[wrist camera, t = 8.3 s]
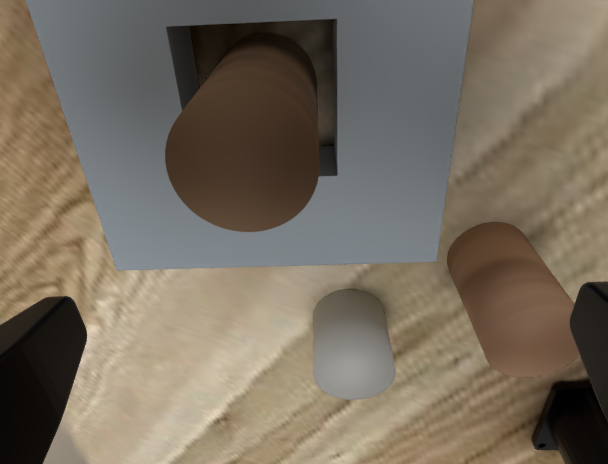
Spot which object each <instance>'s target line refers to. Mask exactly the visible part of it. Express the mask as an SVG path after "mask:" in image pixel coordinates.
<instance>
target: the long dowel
mask: <svg viewBox="0 0 608 464" xmlns="http://www.w3.org/2000/svg"><path fill="white" fill-rule="evenodd" d="M165 163H166V169H167V173H168V176H169V180H170V182H171V184H172V186H173V188H174V190H175V192H176V193H177V195H178V196H179V198H180V199H181V200H182V201H183V203H184V204H185V205H186V206H187V207H188V208H189V209H190V210H191V211H192V212H194V213H195V214H196V215H197V216H199V217H200V218H202V219H204V220H205V221H207V222H209V223H211V224H213V225H215V226H218V227H221V228H224V229H228V230H232V231H238V232H259V231H265V230H269V229H272V228H275V227H278V226H280V225H282V224H285V223H286V222H288V221H290V220H291V219H293V218H294V217H295V216H296V215H298V214H299V213H300V212H301V211H302V210H303V209H304V208H305V206H306V205H307V204H308V202H309V201H310V199H311V197H312V195H313V194H314V192H315V189H316V186H317V183H318V177H319V135H318V106H317V81H316V74H315V70H314V67H313V64H312V62H311V60H310V58H309V57H308V55H307V54H306V52H305V51H304V50H303V49H302V48H301V47H300V46H299V45H298V44H296V43H295V42H294V41H292V40H291V39H289V38H287V37H285V36H282V35H279V34H275V33H256V34H252V35H249V36H247V37H245V38H243V39H241V40H240V41H238V42H237V43H236V44H234V45H233V46H232V47H231V49H230V50H229V51H228V52H227V53H226V55H225V56H224V57H223V59H222V60H221V61H220V63H219V64H218V65H217V67H216V68H215V69H214V70H213V72H212V73H211V74H210V76H209V77H208V78H207V80H206V81H205V82H204V83H203V85H202V86H201V87H200V89H199V90H198V91H197V93H196V94H195V95H194V97H193V98H192V99H191V100H190V102H189V103H188V104H187V106H186V107H185V108H184V110H183V111H182V112H181V113H180V115H179V116H178V118H177V119H176V121H175V122H174V124H173V125H172V127H171V130H170V132H169V134H168V138H167V141H166V148H165Z"/></svg>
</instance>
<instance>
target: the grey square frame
mask: <svg viewBox="0 0 608 464" xmlns="http://www.w3.org/2000/svg"><path fill="white" fill-rule="evenodd" d="M26 3H27V6H28V9H29V12H30V15H31V18H32V21H33V24H34V27H35V29H36V32H37V35H38V38H39V41H40V44H41V47H42V50H43V53H44V56H45V59H46V62H47V65H48V68H49V71H50V74H51V77H52V80H53V83H54V86H55V89H56V92H57V95H58V98H59V100H60V103H61V106H62V109H63V112H64V115H65V118H66V121H67V124H68V127H69V130H70V133H71V136H72V139H73V142H74V145H75V148H76V151H77V154H78V157H79V160H80V163H81V166H82V168H83V171H84V174H85V177H86V180H87V183H88V186H89V189H90V192H91V195H92V198H93V201H94V204H95V207H96V210H97V213H98V216H99V219H100V222H101V225H102V228H103V231H104V234H105V237H106V239H107V242H108V245H109V248H110V251H111V254H112V257H113V260H114V263H115V266H116V269H117V271H118V270H154V269H191V268H227V267H263V266H299V265H336V264H372V263H408V262H436V261H437V254H438V247H439V240H440V233H441V226H442V219H443V212H444V205H445V198H446V191H447V184H448V177H449V170H450V164H451V157H452V150H453V143H454V136H455V129H456V122H457V115H458V108H459V101H460V94H461V87H462V80H463V73H464V66H465V59H466V52H467V45H468V39H469V32H470V25H471V18H472V11H473V4H474V0H26ZM320 19H333V77H334V146H320V147H319V177H318V183H317V186H316V189H315V192H314V194H313V195H312V197H311V199H310V201H309V202H308V204H307V205H306V206H305V208H304V209H303V210H302V211H301V212H300V213H299V214H298V215H296V216H295V217H294V218H293V219H291V220H290V221H288V222H286V223H285V224H282V225H280V226H278V227H275V228H272V229H269V230H265V231H259V232H238V231H232V230H228V229H224V228H221V227H218V226H215V225H213V224H211V223H209V222H207V221H205V220H204V219H202V218H200V217H199V216H197V215H196V214H195V213H194V212H192V211H191V210H190V209H189V208H188V207H187V206H186V205H185V204H184V203H183V201H182V200H181V199H180V198H179V196H178V195H177V193H176V192H175V190H174V188H173V186H172V184H171V182H170V180H169V176H168V173H167V169H166V163H165V148H166V141H167V138H168V134H169V132H170V130H171V127H172V125H173V124H174V122H175V121H176V119H177V118H178V116H179V115H180V113H181V112H182V111H183V110H184V108H185V107H186V106H187V104H188V103H189V102H190V100H191V99H192V98H193V97H194V95H195V94H196V93H197V91H198V90H199V89H200V87H199V81H198V75H197V69H196V64H195V58H194V52H193V46H192V40H191V34H190V28H189V25H211V24H233V23H255V22H277V21H299V20H320Z"/></svg>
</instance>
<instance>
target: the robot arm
mask: <svg viewBox="0 0 608 464" xmlns="http://www.w3.org/2000/svg"><path fill="white" fill-rule="evenodd" d="M570 330H571V333H572V336H573V338H574V341H575V343H576V346H577V348H578V351H579V353H580V356H581V359H582V361H583V364H584V366H585V369H586V371H587V374H588V376H589V379H590V382H591V383H560V384H557V385H555V386H554V387H553V389H552V391H551V394H550V396H549V399H548V401H547V404H546V406H545V409H544V411H543V414H542V417H541V419H540V422H539V424H538V427H537V429H536V432H535V434H534V437H533V439H532V443H533V445H534V447H535V449H537V450H559V452H560V454H561V456H562V458H563V460H564V462H565V464H608V282H587V283H585V284H583V285H582V286H581V288H580V290H579V293H578V296H577V299H576V302H575V305H574V307H573V310H572V313H571V316H570ZM86 341H87V330H86V327H85V325H84V322H83V320H82V318H81V315H80V313H79V311H78V308H77V306H76V303H75V302H74V300H73V299H72V298H71V297H68V296H57V297H47V298H44V299H42V300H41V301H39V302H37V303H36V304H34V305H32V306H31V307H29V308H28V309H26V310H24V311H23V312H21V313H19V314H18V315H16V316H14V317H13V318H11V319H9V320H8V321H6V322H5V323H3V324H1V325H0V464H43V462H44V459H45V457H46V455H47V452H48V450H49V448H50V445H51V443H52V441H53V439H54V436H55V434H56V432H57V429H58V427H59V424H60V422H61V419H62V416H63V414H64V411H65V408H66V405H67V402H68V399H69V395H70V392H71V389H72V386H73V383H74V380H75V376H76V373H77V370H78V367H79V364H80V361H81V357H82V354H83V351H84V348H85V345H86Z"/></svg>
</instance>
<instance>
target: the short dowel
mask: <svg viewBox="0 0 608 464" xmlns="http://www.w3.org/2000/svg"><path fill="white" fill-rule="evenodd" d="M313 363H314V379H315V382H316V384H317V385H318V386H319V388H320V389H322V390H323V391H324V392H325V393H327V394H329V395H331V396H334V397H337V398H341V399H347V400H358V399H365V398H369V397H372V396H375V395H377V394H379V393H381V392H383V391H384V390H385V389H387V388H388V387H389V386H390V384H391V383H392V382H393V380H394V377H395V373H396V369H395V364H394V359H393V354H392V349H391V344H390V339H389V334H388V329H387V324H386V319H385V314H384V309H383V306H382V304H381V303H380V302H379V300H378V299H377V298H375V297H374V296H373V295H371V294H369V293H367V292H364V291H360V290H354V289H347V290H340V291H336V292H333V293H331V294H329V295H327V296H326V297H324V298H323V299H322V300H321V301H320V302H319V303H318V304H317V306H316V307H315V310H314V313H313Z"/></svg>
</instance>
